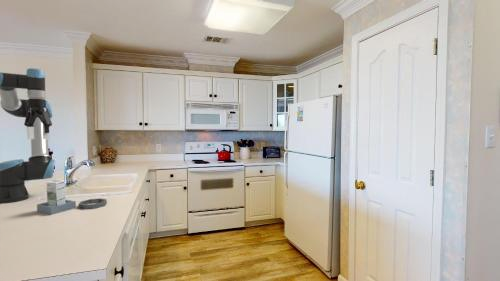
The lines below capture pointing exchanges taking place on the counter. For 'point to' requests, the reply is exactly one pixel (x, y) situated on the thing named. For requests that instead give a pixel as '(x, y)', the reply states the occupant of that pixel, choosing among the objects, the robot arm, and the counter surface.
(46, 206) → the tray
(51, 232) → the counter surface
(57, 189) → the syrup box
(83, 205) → the collar
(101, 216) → the counter surface
